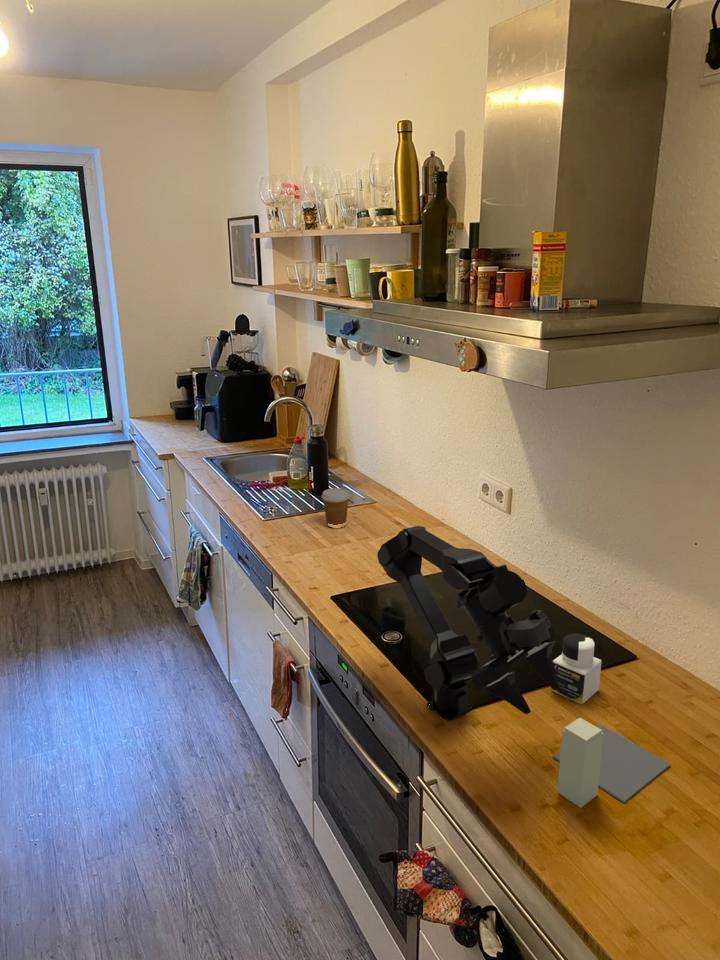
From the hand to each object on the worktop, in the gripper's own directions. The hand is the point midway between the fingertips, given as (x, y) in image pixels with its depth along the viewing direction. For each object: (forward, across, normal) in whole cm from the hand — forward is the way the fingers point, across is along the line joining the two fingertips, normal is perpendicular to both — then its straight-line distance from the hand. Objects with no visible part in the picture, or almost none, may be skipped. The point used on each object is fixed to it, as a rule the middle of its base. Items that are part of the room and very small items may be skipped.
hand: (543, 700), depth 117 cm
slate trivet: (+16, +10, +3) cm, 19 cm away
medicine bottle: (+5, +25, +14) cm, 29 cm away
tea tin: (+15, -1, +4) cm, 16 cm away
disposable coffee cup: (-68, +58, +90) cm, 127 cm away
